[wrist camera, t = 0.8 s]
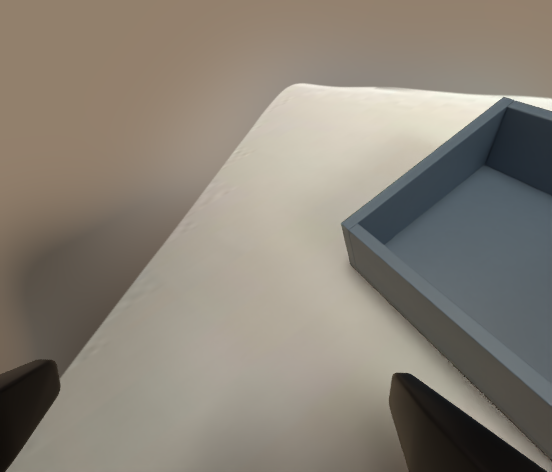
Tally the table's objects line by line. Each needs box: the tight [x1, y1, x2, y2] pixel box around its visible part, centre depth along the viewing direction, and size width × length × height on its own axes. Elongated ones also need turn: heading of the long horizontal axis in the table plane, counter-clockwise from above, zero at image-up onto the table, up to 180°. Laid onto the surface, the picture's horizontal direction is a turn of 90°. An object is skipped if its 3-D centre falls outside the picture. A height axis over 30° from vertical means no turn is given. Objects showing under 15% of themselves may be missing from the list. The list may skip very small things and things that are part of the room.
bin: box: [341, 97, 552, 460], centre depth 15 cm, size 14×13×6 cm
